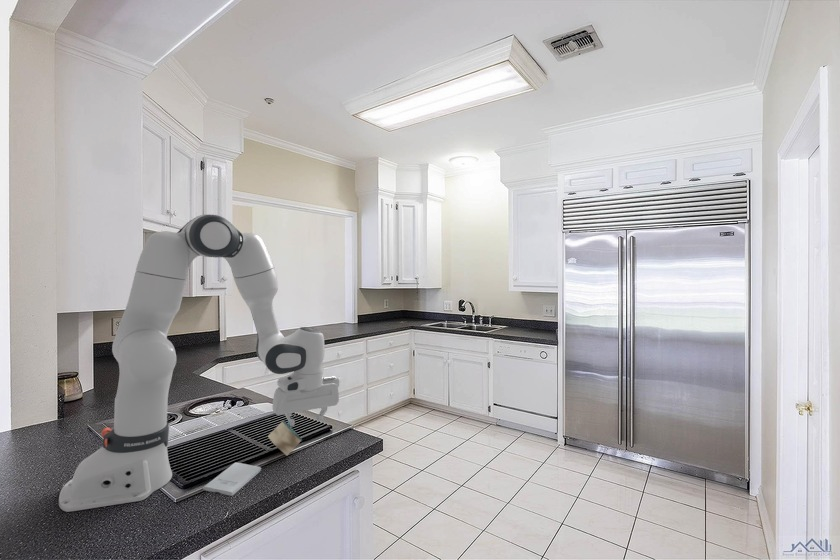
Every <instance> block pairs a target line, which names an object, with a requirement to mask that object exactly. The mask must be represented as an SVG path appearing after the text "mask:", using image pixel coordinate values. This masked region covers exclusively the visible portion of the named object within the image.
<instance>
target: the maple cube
mask: <svg viewBox="0 0 840 560" xmlns="http://www.w3.org/2000/svg"><path fill="white" fill-rule="evenodd" d="M267 437H268V438H269V440H270V441H271V442H272V444H273V445H274V446H275V447H277V448H278V450H279V451H281V452H282V453H283V454H284V455H285V456H286V457H287V456H288V455H290V453H292V451H294V449H295V448H296V447H297V446H298V445H300V442H302V441H303V439H302V437H300V436H299V435H298V433H297V432H296V431H295V430H294V429H293V428H292V427H289V426H288V423H286V421H284V420H282V421H281V422H280V423H279V424H278V425H277V426H276V427H274V429H273V430H272V431H271V432H270V433H269V434H268V435H267Z"/></svg>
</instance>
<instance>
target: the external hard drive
mask: <svg viewBox="0 0 840 560" xmlns="http://www.w3.org/2000/svg"><path fill="white" fill-rule="evenodd" d="M261 471H262V467H261V466H258V465H253V464H252V465H251V464H247V463H241V462H235V461H234V463H232V464H231V465H230V466H229V467H227V468H225V470H223V471H222V472H221V473H220V474H218V475H217V476H216V477H214V478H213V479H212V480H210V481H209V482H208V483H207V484H205V485H204V486H203V488H202V489H203V491H207V492H212V493H219V494H221V495H226V496H229V497H230V496H231V497H233V496H234V495H235V494H236V493H237V492H238V491H239V490H240V491H241V489H242V488H244V487H245V485H246V484H248V483H249V482H250V481H251V480H252V479H254V477H256V476H257V475H258V474H259V473H260V472H261Z"/></svg>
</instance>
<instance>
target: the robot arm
mask: <svg viewBox="0 0 840 560" xmlns="http://www.w3.org/2000/svg"><path fill="white" fill-rule="evenodd" d="M199 256H201V257H206V258H223V259H225V261H226V262H227V263H228V266H229V267H230V270H231V273H232V276H233V281H234V283H235V286H236V288H237V290H238V293H239V294H240V296H241V298H242V299H243V301H244V303H245V304H246V305H247V307H248V308H249V311H250V313H251V317H252V321H253V324H254V327H255V331H256V333H257V334H256V335H257V341H256V346H255V347H256V348H255V352H256V355H257V357H258V359H259V360H260V361H261V362H262V363H263V364H264V366H265V367H266V368H267V370H268V371H270V372H271V373H272V374H277V375H284V374H287V375H285V376H282V377H281V378H278V379H277V382H276V384H277V386H278V387H277V388H276V389H275V391H274V393H273V399H272V411H273V412H274V414H276V415H277V416H282V415H285V418H286V419H287V425H288V426H289V427H290V428H292V427H295V422H296V421H295V419H294V418H291V417H292V415H293V414H294V413H295V414H296V413H301V412H306V411H311V410H317V409H320V412H319V413H317V414H316V421H318V422H322V421H324V416H325V414H326V413H327V411H328V407H333V406H337V405H338V404H339V401H340V399H339V398H340V396H339V394H340V393H339V388H340V387H339V386H340V380H339V378H338V377H336V376H334V375H333V376H328V377H327V376H325V377H324V367H323V366H324V365H323V362H324V358H325V336H324V334H323V332H322V331H320V330H319V329H317V328H314V327H309V326H301V327H299V328H298V329H297V330H296V331H294V332H292V333H291V334H289V335H287V336H285V335H284V334H283V333H282V332H281V331H280V329H279V326H278V322H277V317H276V315H275V311H274V306H273V301H274V298H275V296H276V295H277V293H278V291H279V286H278V285H279V284H278V276H277V273H276V269H275V265H274V262H273V260H272V257H271V254H270V252H269V251H268V248H267V246H266V244H265V242H264V240H263V238H262V236H260V235H258V234H256V233H252V232H243V233H242V232H241V231H239V229H237V227H236V226H234V225H233V224H232V223H231V221H229V220H228V219H226V218H224V217H223V216H221V215H217V214H201V215H198V216H196V217H193V218H192V219H190V220H189V221H188V222H187V223H185V224H184V225H183V226H182V227H181V229H179V230H178V231H176V232H174V231H167V230H164V231H163V230H162V231H157V232H154V233H152V234H150V236H149V237H148V238H147V240H146V242H145V244H144V246H143V248H142V251H141V253H140V255H139V258H138V261H137V264H136V267H135V273H134V275H133V276H134V277H133V280H132V286H131V289H130V292H129V296H128V301H127V303H126V307H125V309H124V311H123V314H122V316H121V319H120V322H119V324H118V327H117V330H116V332H115V337H114V338H113V341H112V345H111V347H112V348H111V352H112V355H113V357H114V358H115V360H116V362H117V363H118V367H119V376H118V385H117V390H116V394H115V398H114V411H113V412H114V417H113V419H114V421H113V429H112V428H110V427H105V428H103V429H102V430H101V433H100V434H101V437H102V447H99V449H97V450H96V451H94V452H93V453H91V454H90V455H89V456H87V457H86V458H85V459H83V460H82V461H81V462H80V463H79V464H78V466H77V467H76V469H75V471H74V474H73V476H72V479H70V480H69V481H67V482H66V483H65V484H64V485H63V486H62V488H61V490H60V492H59V495H58V506H59V508H60V509H61V511H64V512H67V513H68V512H70V513H71V512H77V511H83V510H89V509H96V508H101V507H107V506H114V505H122V504H126V503H127V504H129V503H134V502H140V501H143V500H145V499H147V498H148V497H149V496H150V495H151V494H152V493H154V492H156V491H157V490H159V489H160V488H162V487H164V486H165V485H166V484H168V483H169V482H170V480H172V478H173V472H172V469H171V465H170V461H169V454H168V453H169V451H168V445H169V439H170V426H169V423H168V403H169V402H168V401H169V399H168V398H169V392H170V387H171V383H172V377H173V372H174V369H175V367H176V365H177V361H178V360H177V359H178V358H177V354H176V349H175V346H174V344H173V343H172V341H170V340H169V339H168V333H169V330H170V328H171V325H172V323H173V320H174V319H175V317H176V315H177V313H179V311H180V309H181V304H182V302H183V301H182V300H183V297H184V292H185V288H186V284H187V279H188V275H189V270H190V267H191V265H192V263H193V261H194V260H195V259H196V258H198V257H199ZM289 373H290V374H289Z"/></svg>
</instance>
